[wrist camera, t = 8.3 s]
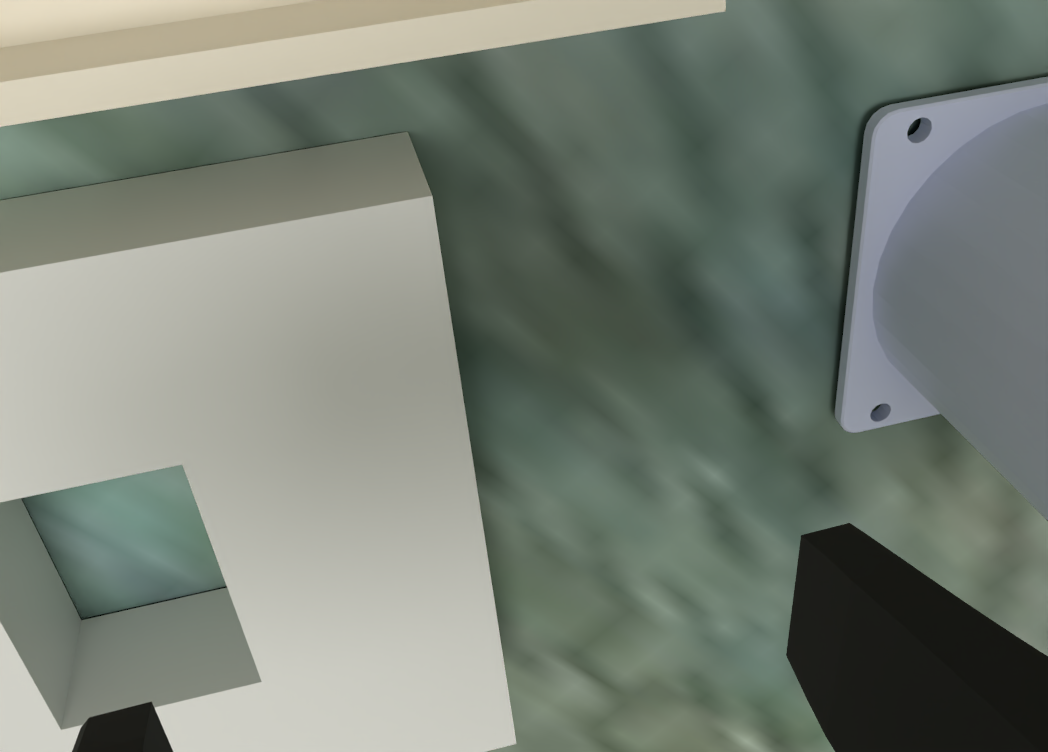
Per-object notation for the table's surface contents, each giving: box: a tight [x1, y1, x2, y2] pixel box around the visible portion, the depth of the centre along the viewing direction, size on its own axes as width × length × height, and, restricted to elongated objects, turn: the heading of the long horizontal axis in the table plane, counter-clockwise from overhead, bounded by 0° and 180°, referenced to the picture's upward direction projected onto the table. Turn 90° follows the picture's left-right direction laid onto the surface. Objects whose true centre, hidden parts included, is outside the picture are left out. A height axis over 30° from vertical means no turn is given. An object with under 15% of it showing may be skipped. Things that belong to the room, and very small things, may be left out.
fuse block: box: [0, 132, 516, 752], centre depth 20 cm, size 14×14×3 cm
